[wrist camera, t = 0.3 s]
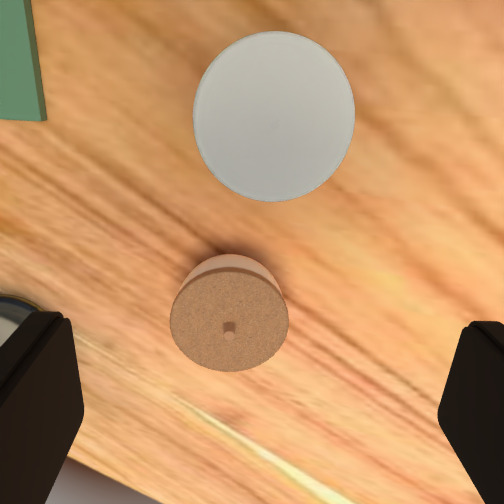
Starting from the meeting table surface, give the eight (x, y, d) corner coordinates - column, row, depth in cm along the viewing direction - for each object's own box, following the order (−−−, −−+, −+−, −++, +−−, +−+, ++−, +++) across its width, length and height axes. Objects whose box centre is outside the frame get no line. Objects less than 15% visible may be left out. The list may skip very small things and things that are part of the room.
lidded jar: (300, 269, 42) (315, 317, 34) (247, 341, 46) (249, 401, 37) (212, 219, 40) (205, 258, 31) (163, 299, 43) (144, 354, 35)
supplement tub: (261, 182, 39) (273, 238, 25) (184, 112, 36) (152, 132, 22) (335, 104, 36) (393, 119, 22) (258, 21, 33) (272, -18, 20)
